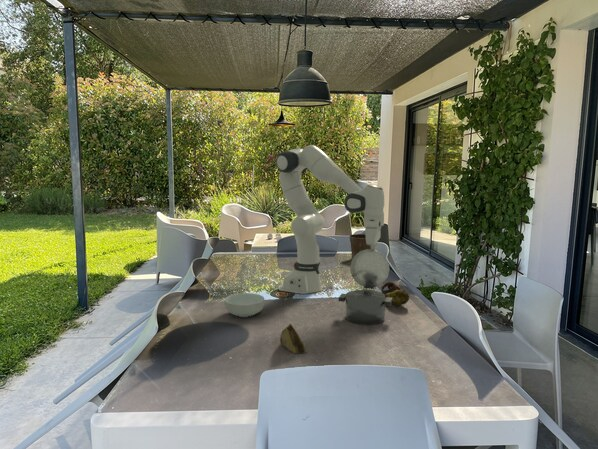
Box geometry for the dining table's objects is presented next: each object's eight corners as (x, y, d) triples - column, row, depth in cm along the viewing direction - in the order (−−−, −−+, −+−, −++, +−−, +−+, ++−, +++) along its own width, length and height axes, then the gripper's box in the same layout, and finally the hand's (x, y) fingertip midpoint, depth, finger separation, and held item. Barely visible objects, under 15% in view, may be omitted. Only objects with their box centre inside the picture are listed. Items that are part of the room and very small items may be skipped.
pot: (335, 321, 181) (335, 298, 180) (344, 308, 197) (344, 287, 196) (388, 327, 174) (389, 303, 173) (393, 313, 191) (393, 291, 190)
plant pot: (374, 262, 292) (375, 237, 290) (350, 262, 292) (350, 237, 290) (371, 257, 308) (371, 234, 306) (347, 257, 309) (348, 234, 306)
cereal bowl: (232, 323, 180) (231, 306, 179) (219, 311, 194) (219, 296, 194) (270, 316, 188) (270, 300, 187) (256, 306, 202) (255, 290, 201)
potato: (399, 300, 209) (400, 284, 208) (411, 309, 196) (412, 291, 195) (383, 301, 207) (383, 285, 206) (393, 310, 195) (394, 292, 194)
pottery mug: (405, 300, 211) (398, 287, 208) (387, 308, 213) (379, 294, 210) (401, 287, 222) (394, 274, 219) (383, 295, 224) (376, 282, 221)
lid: (351, 248, 195) (352, 248, 198) (349, 287, 194) (350, 286, 197) (389, 250, 189) (390, 250, 193) (388, 290, 189) (388, 289, 192)
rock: (272, 337, 159) (274, 344, 149) (286, 317, 160) (289, 323, 150) (296, 354, 160) (300, 362, 150) (310, 334, 161) (315, 341, 151)
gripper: (370, 218, 211) (370, 247, 212) (363, 223, 191) (362, 255, 193) (383, 218, 209) (383, 247, 211) (377, 224, 189) (377, 256, 191)
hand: (373, 251), depth 202 cm, fingers closed
